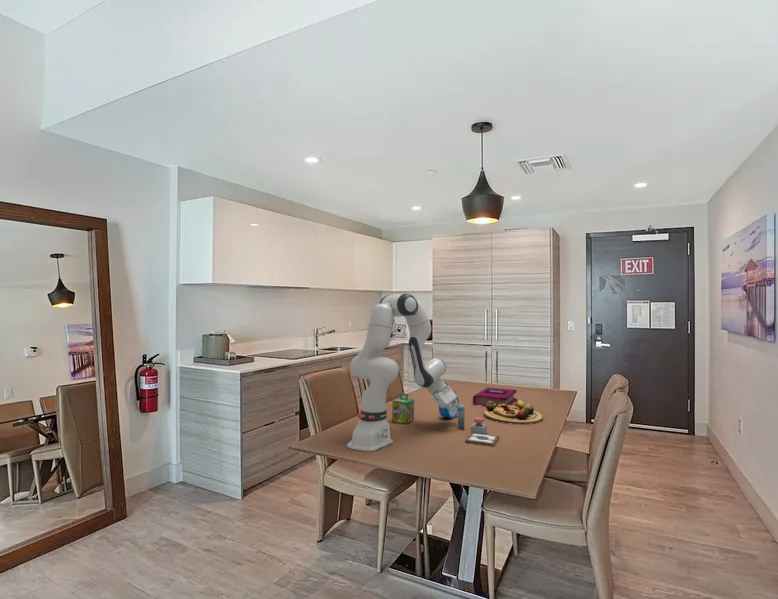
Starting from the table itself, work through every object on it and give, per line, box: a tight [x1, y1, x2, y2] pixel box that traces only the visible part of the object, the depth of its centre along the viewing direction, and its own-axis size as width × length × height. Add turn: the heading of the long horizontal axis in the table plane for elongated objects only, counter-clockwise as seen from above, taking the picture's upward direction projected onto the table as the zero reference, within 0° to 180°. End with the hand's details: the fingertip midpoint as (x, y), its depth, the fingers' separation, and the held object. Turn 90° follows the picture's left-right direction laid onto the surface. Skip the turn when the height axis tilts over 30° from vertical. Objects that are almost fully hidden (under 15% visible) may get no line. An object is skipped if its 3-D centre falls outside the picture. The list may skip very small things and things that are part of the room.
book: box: [472, 387, 517, 407], centre depth 296 cm, size 21×28×8 cm
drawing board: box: [464, 433, 500, 447], centre depth 216 cm, size 13×13×1 cm
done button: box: [473, 416, 485, 426], centre depth 227 cm, size 4×4×4 cm
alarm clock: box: [438, 389, 460, 420], centre depth 258 cm, size 13×6×15 cm, turn 144°
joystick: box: [457, 403, 466, 430], centre depth 235 cm, size 3×3×12 cm
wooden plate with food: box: [483, 399, 544, 425], centre depth 260 cm, size 32×32×8 cm
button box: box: [470, 422, 488, 435], centre depth 227 cm, size 6×6×4 cm
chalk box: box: [391, 392, 415, 425], centre depth 249 cm, size 9×9×15 cm
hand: (456, 409), depth 237 cm, fingers open, 8 cm apart
